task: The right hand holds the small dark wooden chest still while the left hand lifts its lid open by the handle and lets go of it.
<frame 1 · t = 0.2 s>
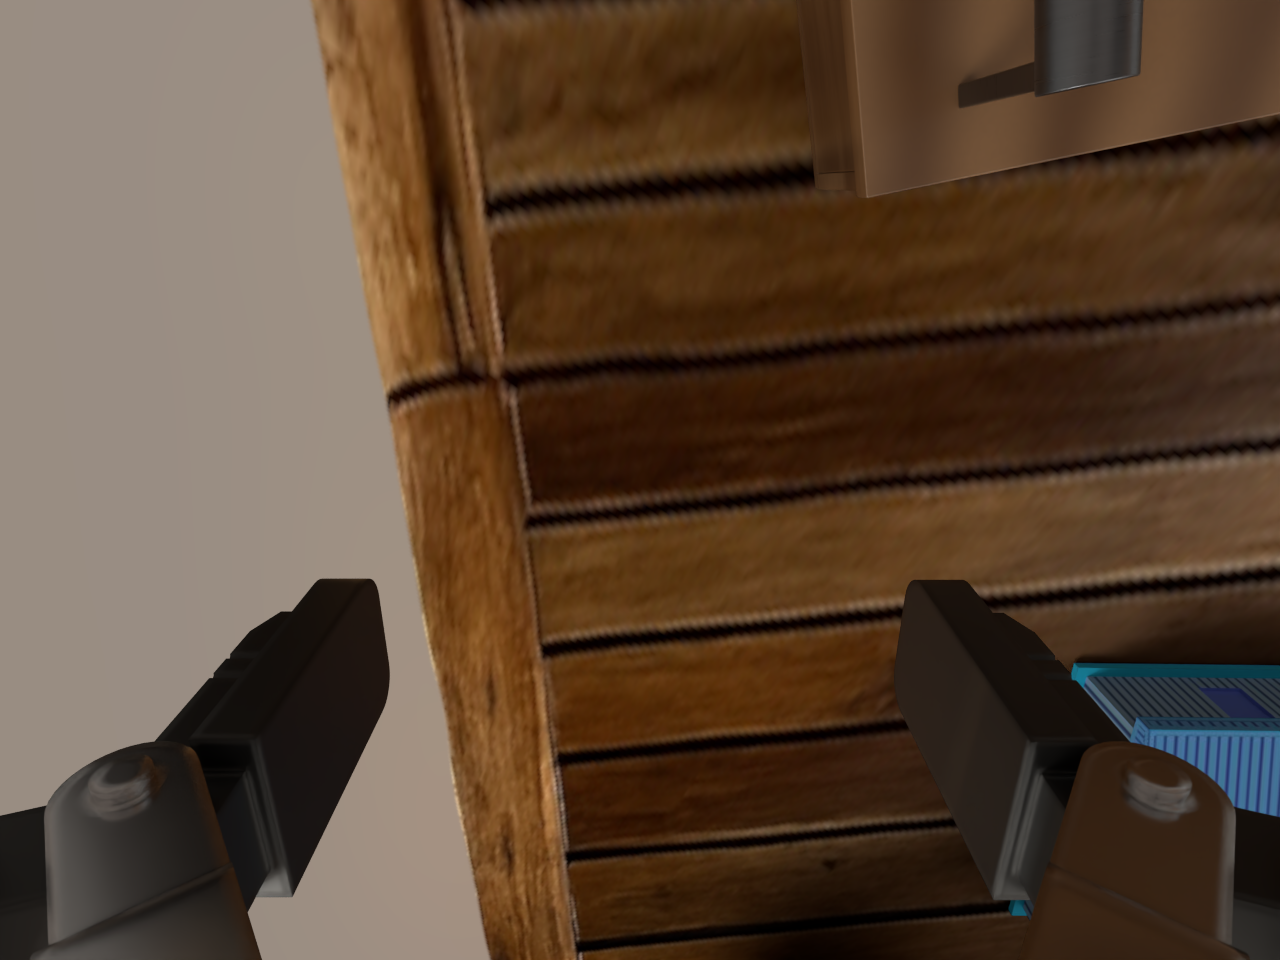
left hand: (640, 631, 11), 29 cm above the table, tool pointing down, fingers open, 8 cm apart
chest: (940, 50, 34), on the table
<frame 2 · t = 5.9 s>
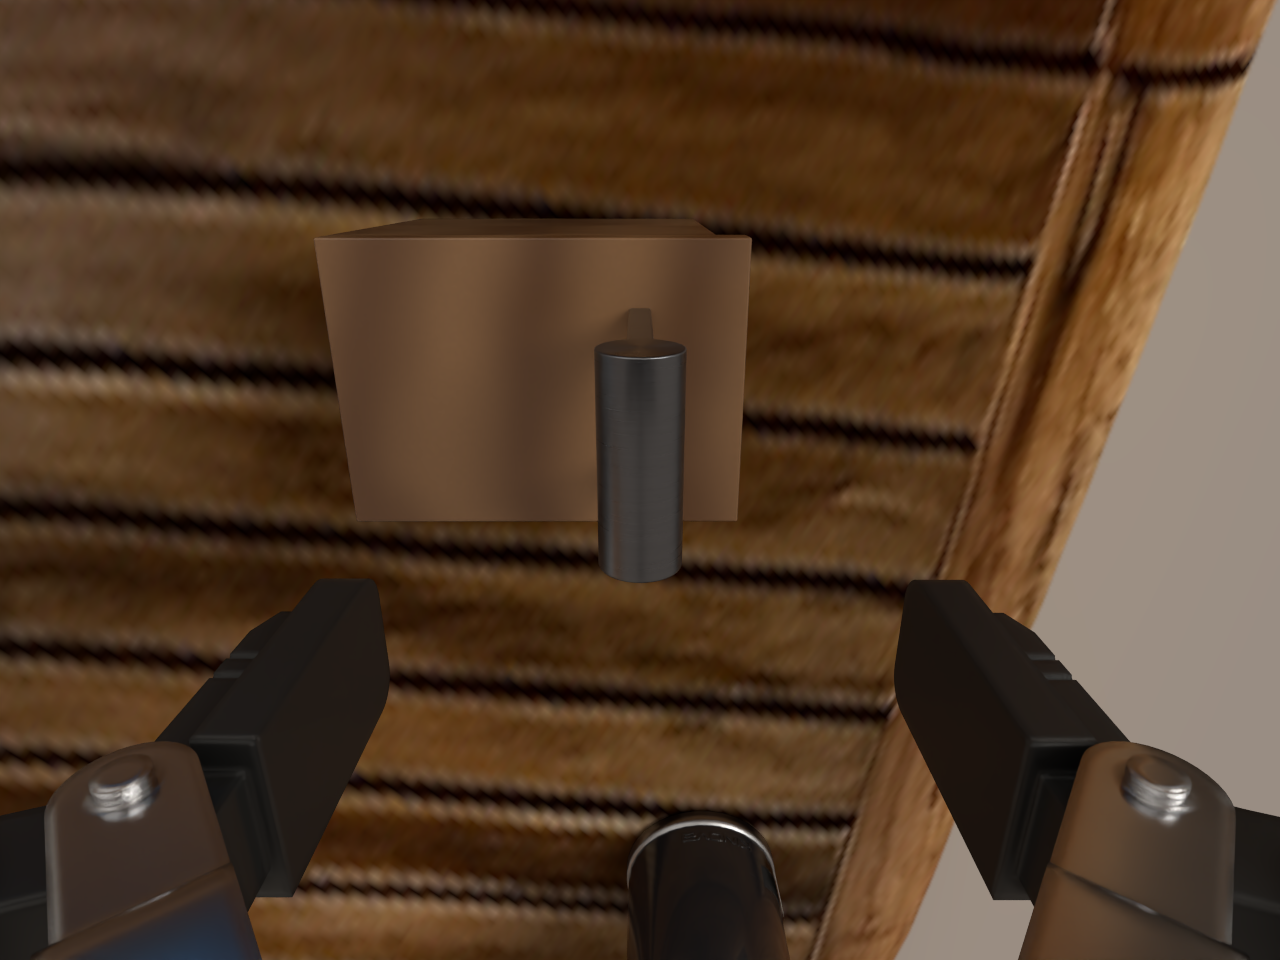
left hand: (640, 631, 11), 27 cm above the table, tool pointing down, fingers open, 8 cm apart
chest: (561, 323, 36), on the table
lid: (526, 419, 22), point 16 cm above the table, hinge at 0.0°
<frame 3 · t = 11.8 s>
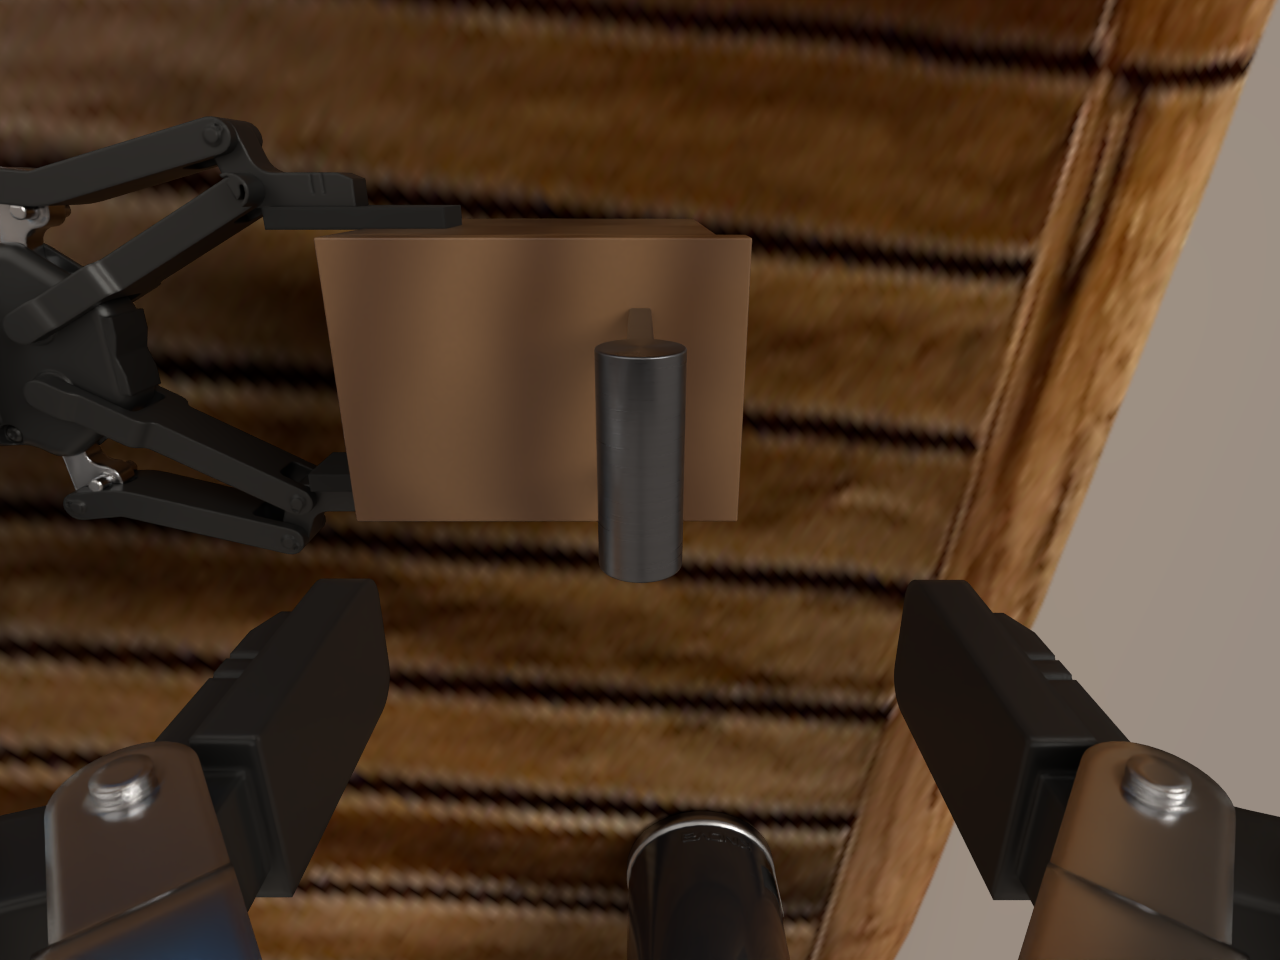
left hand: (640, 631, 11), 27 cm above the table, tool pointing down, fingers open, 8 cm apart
right hand: (465, 351, 30), fingers closed on chest, 9 cm apart
chest: (561, 323, 36), on the table, touching right hand
lid: (526, 419, 22), point 16 cm above the table, hinge at 0.0°
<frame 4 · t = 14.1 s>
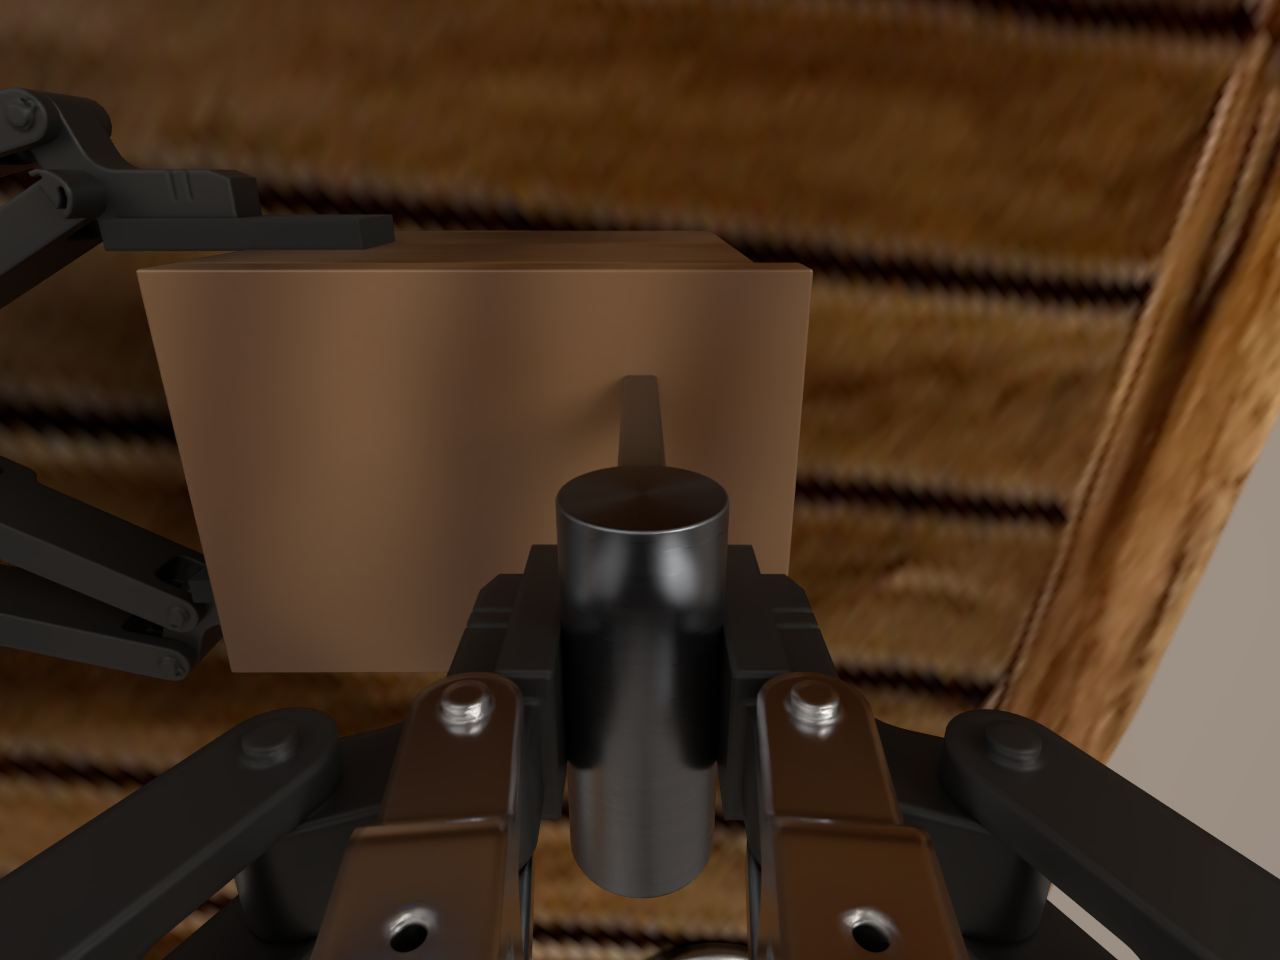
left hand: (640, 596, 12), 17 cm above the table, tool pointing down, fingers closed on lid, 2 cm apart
chest: (538, 365, 28), on the table, touching right hand
lid: (459, 562, 14), point 16 cm above the table, hinge at -0.1°, touching left hand
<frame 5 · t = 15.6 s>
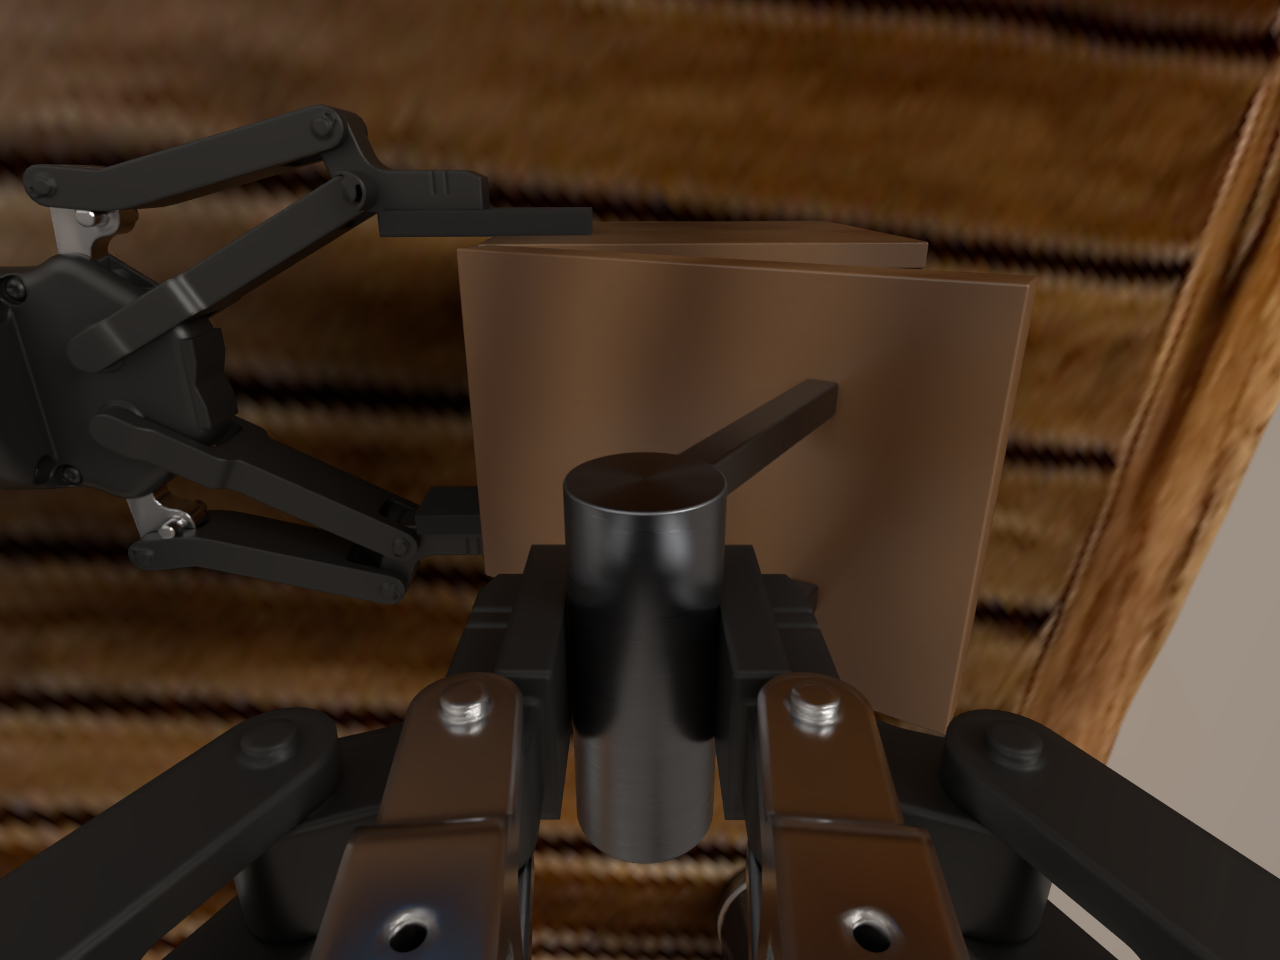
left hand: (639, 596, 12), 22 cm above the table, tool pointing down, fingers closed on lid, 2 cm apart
right hand: (595, 374, 27), fingers closed on chest, 9 cm apart
chest: (673, 337, 33), on the table, touching right hand
lid: (599, 521, 15), point 19 cm above the table, hinge at 34.2°, touching left hand
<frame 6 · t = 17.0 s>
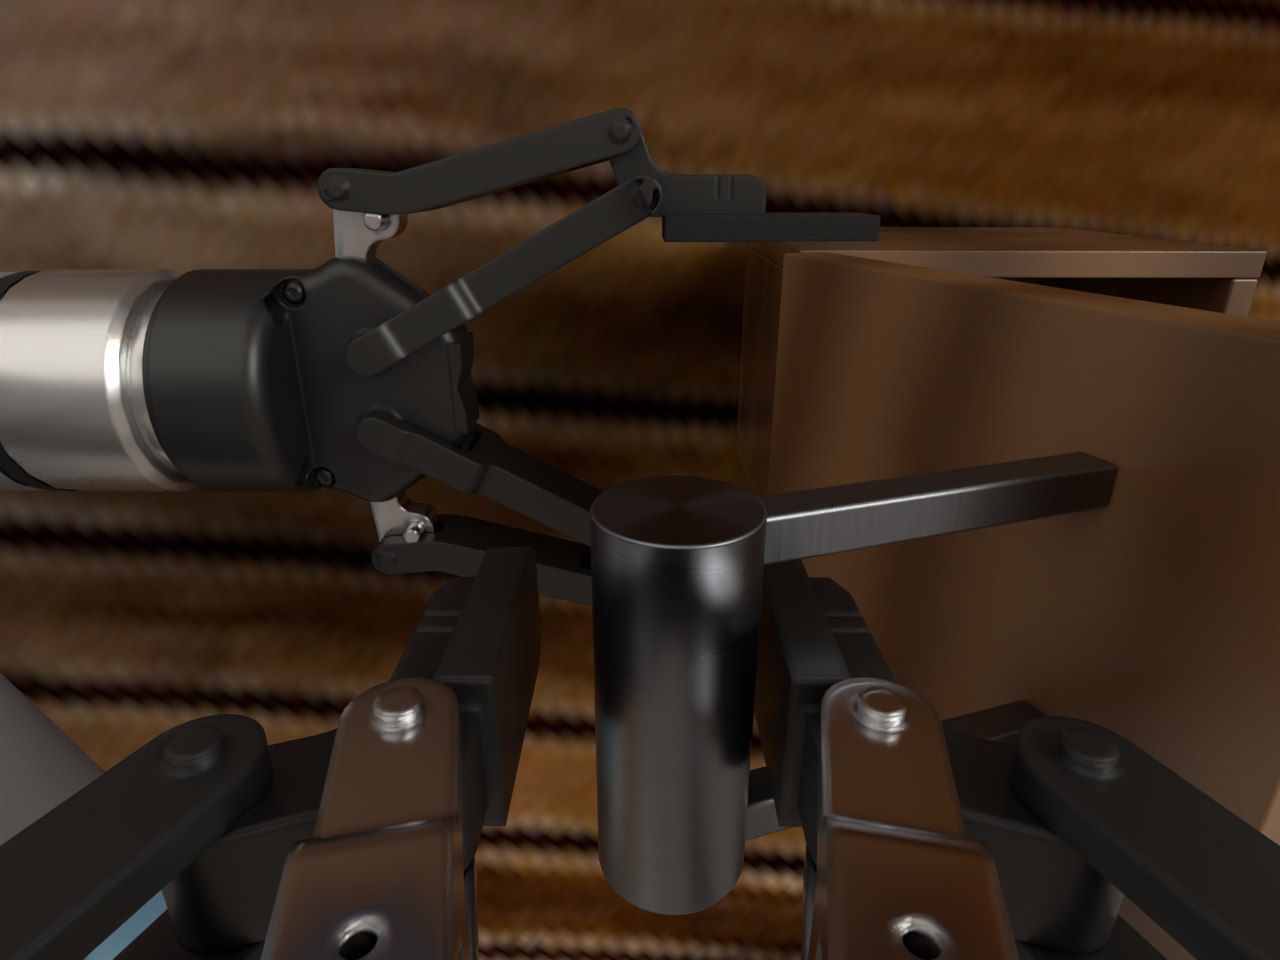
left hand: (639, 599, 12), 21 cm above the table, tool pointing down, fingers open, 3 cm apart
right hand: (850, 382, 26), fingers closed on chest, 9 cm apart
chest: (887, 345, 32), on the table, touching right hand
lid: (784, 553, 14), point 19 cm above the table, hinge at 70.8°
when the right hand's fingers open (6 cm above the table, at t = 21.1 s): chest stays where it is, on the table.
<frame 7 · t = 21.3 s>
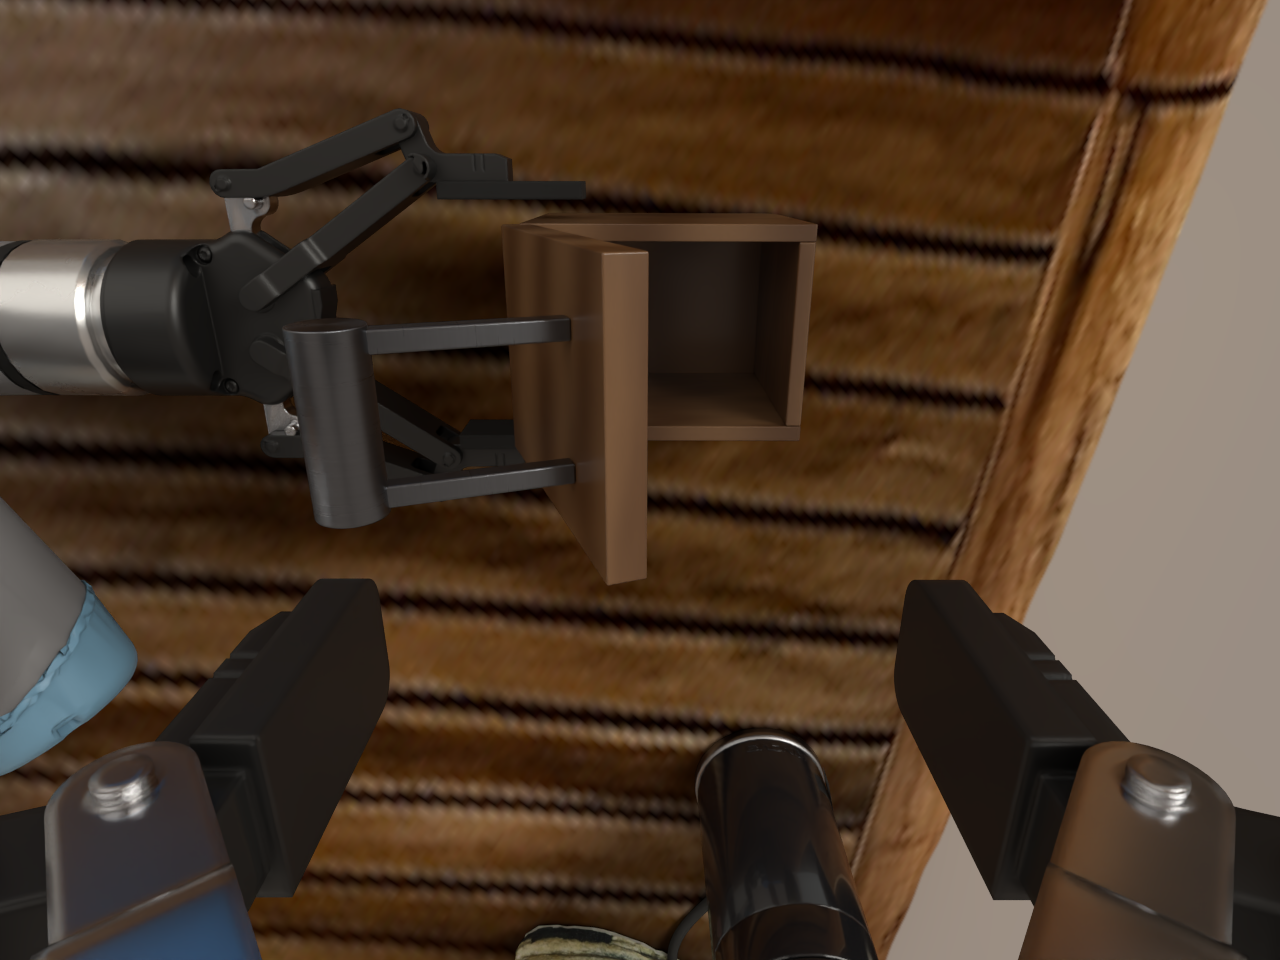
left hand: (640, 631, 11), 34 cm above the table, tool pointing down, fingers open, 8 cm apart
chest: (660, 300, 43), on the table
lid: (450, 385, 25), point 19 cm above the table, hinge at 69.6°
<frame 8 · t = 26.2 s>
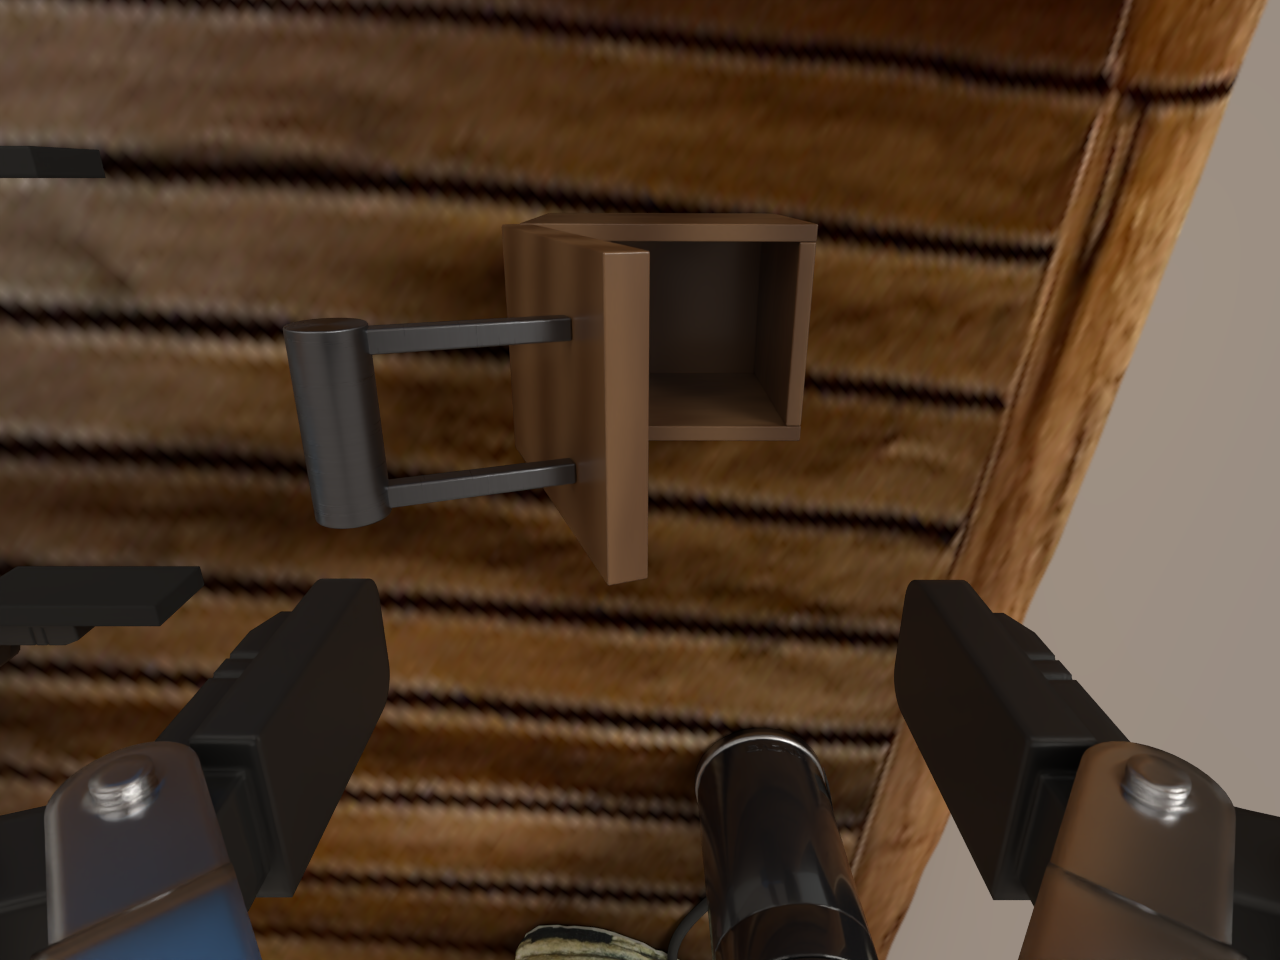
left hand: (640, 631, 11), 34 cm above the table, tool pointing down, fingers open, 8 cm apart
chest: (660, 300, 43), on the table
lid: (451, 385, 25), point 19 cm above the table, hinge at 69.6°
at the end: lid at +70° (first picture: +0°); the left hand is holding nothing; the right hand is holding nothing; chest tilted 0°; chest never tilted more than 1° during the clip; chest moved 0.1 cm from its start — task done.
